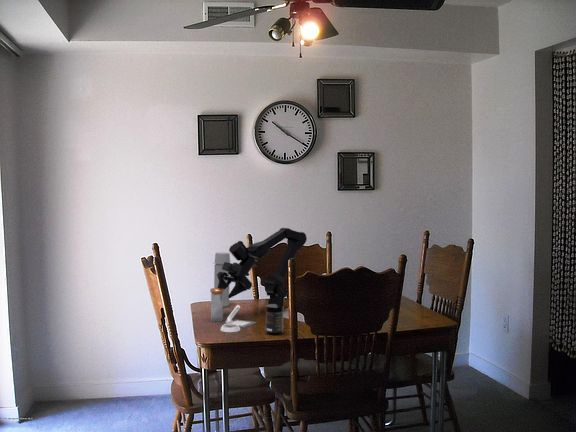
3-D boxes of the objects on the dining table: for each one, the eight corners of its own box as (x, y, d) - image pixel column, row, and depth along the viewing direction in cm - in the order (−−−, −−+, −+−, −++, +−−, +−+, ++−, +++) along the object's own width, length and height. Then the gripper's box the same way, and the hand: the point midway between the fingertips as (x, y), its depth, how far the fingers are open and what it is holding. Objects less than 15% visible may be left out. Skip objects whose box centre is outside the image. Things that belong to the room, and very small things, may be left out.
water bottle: (231, 307, 247) (231, 253, 246) (214, 307, 245) (214, 253, 244) (228, 303, 256) (229, 251, 255) (212, 303, 254) (212, 251, 253)
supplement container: (286, 332, 204) (286, 305, 203) (277, 336, 198) (278, 308, 197) (271, 329, 207) (271, 303, 206) (262, 333, 201) (262, 306, 200)
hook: (252, 319, 201) (236, 309, 200) (233, 343, 203) (218, 333, 202) (251, 310, 209) (236, 301, 207) (233, 333, 210) (219, 324, 209)
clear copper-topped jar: (224, 318, 224) (224, 288, 223) (222, 321, 218) (223, 290, 218) (210, 318, 224) (211, 287, 223) (209, 321, 218) (209, 290, 218)
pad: (235, 320, 222) (235, 319, 222) (256, 323, 217) (256, 321, 217) (222, 325, 213) (222, 324, 213) (243, 328, 208) (243, 327, 208)
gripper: (220, 253, 233) (198, 280, 225) (247, 257, 219) (224, 286, 212) (234, 269, 238) (213, 297, 231) (261, 274, 224) (240, 303, 217)
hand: (222, 295), depth 223 cm, fingers open, 9 cm apart
